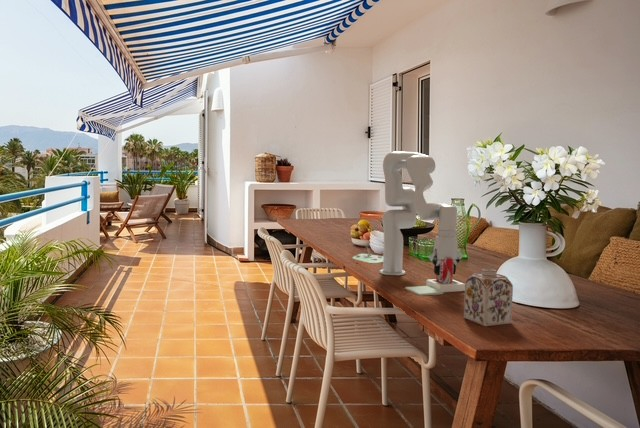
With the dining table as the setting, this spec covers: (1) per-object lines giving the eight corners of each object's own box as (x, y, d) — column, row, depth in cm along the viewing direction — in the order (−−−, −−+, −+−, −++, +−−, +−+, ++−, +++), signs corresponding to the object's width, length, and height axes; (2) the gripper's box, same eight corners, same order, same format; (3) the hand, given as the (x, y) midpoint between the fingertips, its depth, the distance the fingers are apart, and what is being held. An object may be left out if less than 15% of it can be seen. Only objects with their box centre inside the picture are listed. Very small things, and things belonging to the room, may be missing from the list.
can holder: (426, 286, 245) (426, 279, 245) (450, 285, 249) (450, 278, 248) (439, 292, 234) (440, 285, 233) (464, 290, 237) (465, 284, 237)
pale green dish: (396, 263, 306) (396, 247, 306) (361, 264, 301) (361, 247, 300) (379, 256, 330) (380, 241, 330) (346, 257, 325) (347, 241, 324)
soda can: (452, 286, 238) (454, 258, 236) (436, 284, 239) (437, 257, 238) (452, 282, 244) (453, 255, 243) (435, 281, 246) (437, 254, 245)
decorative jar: (484, 327, 183) (487, 273, 182) (462, 318, 194) (464, 267, 192) (512, 323, 188) (515, 271, 187) (489, 315, 199) (491, 265, 197)
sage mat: (405, 288, 239) (405, 287, 239) (427, 287, 243) (428, 285, 243) (419, 295, 227) (419, 293, 227) (443, 294, 230) (443, 292, 230)
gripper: (459, 232, 246) (457, 271, 247) (424, 232, 240) (422, 273, 242) (469, 234, 238) (466, 275, 240) (433, 235, 233) (431, 276, 235)
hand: (444, 273), depth 241 cm, fingers closed on soda can, 7 cm apart
